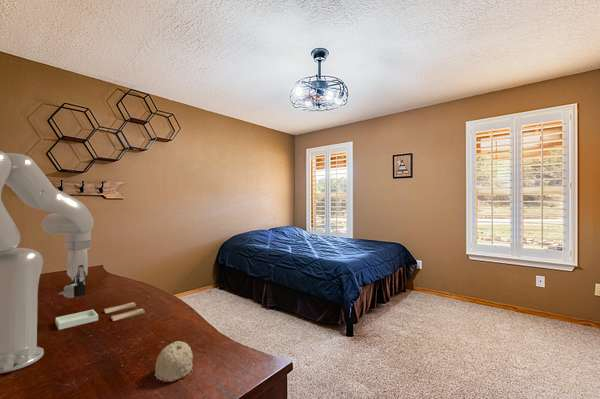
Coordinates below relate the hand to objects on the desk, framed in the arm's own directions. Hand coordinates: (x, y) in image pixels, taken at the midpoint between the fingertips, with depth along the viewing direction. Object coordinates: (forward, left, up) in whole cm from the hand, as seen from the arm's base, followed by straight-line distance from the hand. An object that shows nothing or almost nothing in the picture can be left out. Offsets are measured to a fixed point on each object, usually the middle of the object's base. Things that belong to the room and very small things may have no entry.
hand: (77, 293), depth 108 cm
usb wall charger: (-1, +2, -1) cm, 3 cm away
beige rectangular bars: (-2, -15, -10) cm, 18 cm away
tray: (0, 0, -10) cm, 10 cm away
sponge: (-58, -11, -11) cm, 60 cm away
